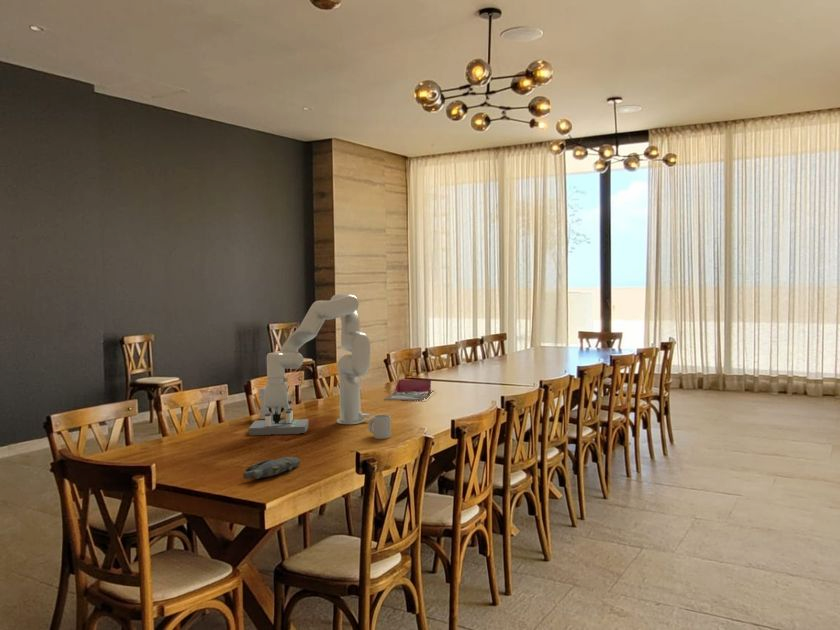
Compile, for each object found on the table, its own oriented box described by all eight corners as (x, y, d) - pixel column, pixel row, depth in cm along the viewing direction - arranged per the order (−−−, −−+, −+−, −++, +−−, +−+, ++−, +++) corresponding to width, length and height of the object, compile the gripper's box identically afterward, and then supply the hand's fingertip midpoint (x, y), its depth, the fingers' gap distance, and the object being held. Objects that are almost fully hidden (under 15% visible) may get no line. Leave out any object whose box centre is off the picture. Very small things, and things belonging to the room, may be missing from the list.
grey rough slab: (306, 452, 249) (273, 453, 256) (258, 468, 227) (224, 468, 234) (307, 466, 248) (275, 467, 255) (260, 483, 226) (226, 483, 234)
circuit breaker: (287, 420, 333) (286, 389, 332) (259, 419, 336) (258, 388, 335) (293, 417, 340) (292, 386, 340) (266, 416, 343) (265, 386, 343)
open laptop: (437, 392, 415) (436, 378, 414) (426, 402, 381) (426, 387, 380) (397, 391, 420) (397, 378, 419) (382, 401, 385) (382, 387, 385)
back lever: (292, 419, 318) (292, 407, 318) (292, 420, 316) (291, 408, 315) (288, 419, 318) (287, 407, 318) (287, 420, 315) (287, 408, 315)
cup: (385, 439, 289) (385, 418, 289) (364, 437, 294) (364, 416, 293) (393, 436, 296) (393, 415, 295) (372, 434, 300) (372, 413, 300)
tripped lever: (271, 425, 306) (270, 413, 305) (270, 426, 303) (270, 414, 303) (266, 425, 305) (265, 413, 305) (265, 426, 303) (264, 414, 303)
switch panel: (308, 425, 320) (308, 418, 320) (305, 433, 303) (304, 426, 303) (255, 427, 318) (255, 420, 318) (248, 435, 301) (248, 428, 301)
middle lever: (291, 422, 312) (291, 410, 312) (290, 423, 310) (290, 411, 309) (286, 422, 312) (286, 410, 312) (285, 423, 309) (285, 411, 309)
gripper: (294, 379, 308) (295, 420, 309) (260, 380, 307) (260, 421, 308) (292, 381, 300) (293, 424, 301) (257, 382, 299) (258, 425, 300)
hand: (276, 422), depth 304 cm, fingers closed
